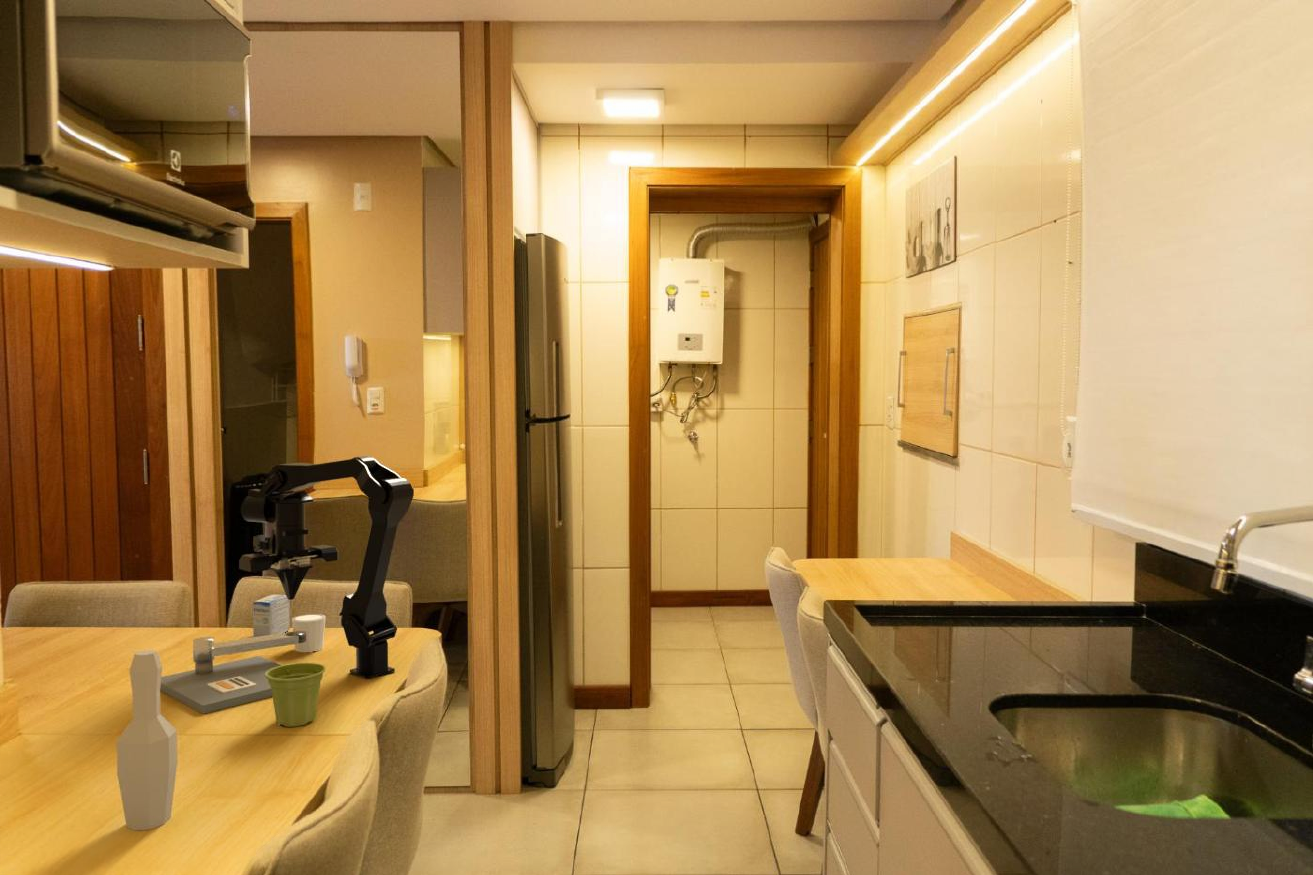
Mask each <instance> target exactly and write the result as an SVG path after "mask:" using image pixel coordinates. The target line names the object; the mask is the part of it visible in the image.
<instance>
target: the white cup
mask: <svg viewBox="0 0 1313 875" xmlns="http://www.w3.org/2000/svg"><path fill="white" fill-rule="evenodd" d="M291 625H292V632H294V631H304V632H306V642H303V643H299V644H294V650H296V651H299V652H310V653H312V652H311V651H316V650H319V649H322V648H323V649H324V640H325V629H326V615H325V614H320V613H319V614H317V613H312V614H311V613H310V614H302V615H296V616H294V617H292V618H291ZM323 649H322V650H323ZM296 651H295V652H296ZM319 651H320V650H319ZM299 652H298V653H299ZM316 652H317V651H316Z"/></svg>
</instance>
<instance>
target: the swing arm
mask: <svg viewBox="0 0 1313 875" xmlns="http://www.w3.org/2000/svg"><path fill="white" fill-rule="evenodd" d="M303 642H306V632H304V631H294V632H293V631H288V632H286V633H280V634H273V635H266V636H259V637H247V638H239V639H233V640H226V641H220V642H215V637H212V636H204V637H203V636H202V637H198V638H195V639H193V640H192V649H193V650H192V651H193V652H192V655H193V660H192V661H193V663H204V662H209V661H214V660H215V658H216V657H219V656H220V657H221V656H227V655H234V654H240V653H245V652H252V651H259V650H266V649H271V648H278V647H285V646H291V645H295V644H299V643H303Z"/></svg>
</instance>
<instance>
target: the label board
mask: <svg viewBox="0 0 1313 875" xmlns="http://www.w3.org/2000/svg"><path fill="white" fill-rule="evenodd" d="M194 664H195V665H194V669H192V670H187V671H182V672H178V673H173V674H169V675H164V676H161V685H160V692H162V693H164V694H166V695H168V696H170V697H171V698H173V699H175V700H177V701H179V702H180V703H182V704H184V705H186V706H188V707H189V708H191V709H193V710H195V711H197V712H198V713H201V714H202V715H205V714H209V713H213V712H216V711H221V710H225V709H229V708H233V707H236V706H240V705H241V706H242V705H244V704H248V703H251V702H256V701H260V700H262V699H263V700H264V699H268V698H271V697H272V691H271V686H270V685H269V682H268V678H266V676H265V673H266V672H267V671H268V670H270V669H272V668H275V667H278V666H282V665H281V664H279V663H277V662H274V661H271V660H270V659H268V658H265V657H263V656H260V655H257V656H252V657H247V658H241V659H239V660H234V661H233V660H232V661H229V662H224V663H220V664H215V665H214V660H212V661H209V662H204V663H196V662H194ZM272 698H273V697H272Z"/></svg>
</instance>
